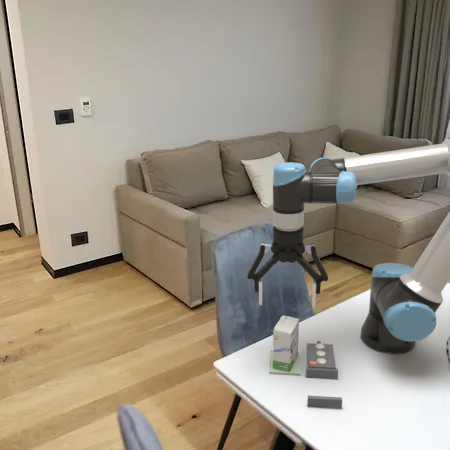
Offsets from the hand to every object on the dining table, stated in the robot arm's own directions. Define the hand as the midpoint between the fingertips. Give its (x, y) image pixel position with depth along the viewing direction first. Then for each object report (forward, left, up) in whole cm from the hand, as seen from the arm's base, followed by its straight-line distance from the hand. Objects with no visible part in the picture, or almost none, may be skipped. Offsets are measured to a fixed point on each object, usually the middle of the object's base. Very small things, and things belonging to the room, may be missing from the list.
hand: (287, 303), depth 134 cm
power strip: (-9, +3, -18) cm, 21 cm away
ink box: (0, 0, -18) cm, 18 cm away
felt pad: (0, 0, -18) cm, 18 cm away
